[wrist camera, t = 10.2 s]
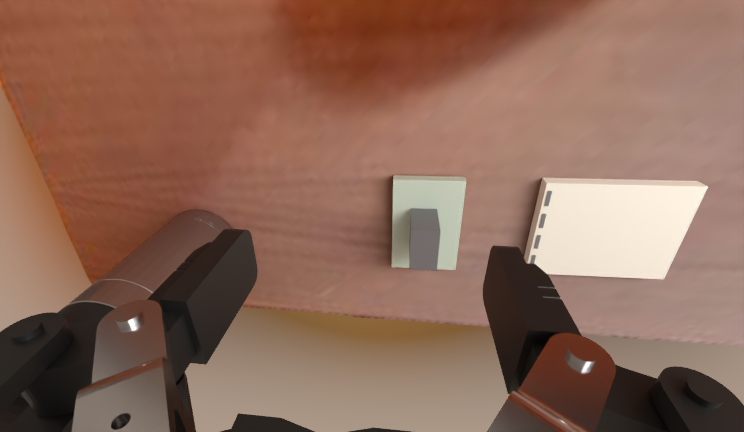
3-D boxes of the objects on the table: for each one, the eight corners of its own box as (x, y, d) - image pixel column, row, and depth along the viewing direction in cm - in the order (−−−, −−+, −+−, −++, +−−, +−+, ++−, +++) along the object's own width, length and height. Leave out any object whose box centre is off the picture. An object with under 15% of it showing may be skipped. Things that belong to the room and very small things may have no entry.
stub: (464, 176, 39) (473, 201, 34) (454, 263, 45) (460, 296, 39) (393, 175, 40) (391, 198, 34) (392, 261, 46) (389, 293, 40)
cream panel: (697, 181, 37) (708, 187, 36) (655, 271, 43) (664, 279, 42) (542, 177, 39) (547, 183, 37) (521, 265, 44) (525, 273, 43)
